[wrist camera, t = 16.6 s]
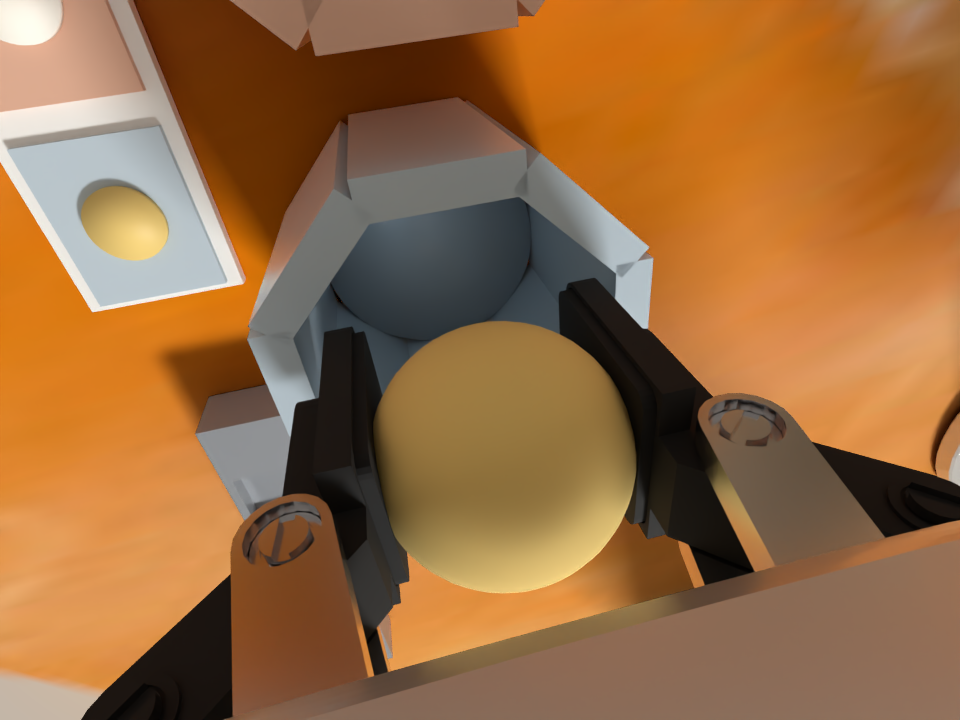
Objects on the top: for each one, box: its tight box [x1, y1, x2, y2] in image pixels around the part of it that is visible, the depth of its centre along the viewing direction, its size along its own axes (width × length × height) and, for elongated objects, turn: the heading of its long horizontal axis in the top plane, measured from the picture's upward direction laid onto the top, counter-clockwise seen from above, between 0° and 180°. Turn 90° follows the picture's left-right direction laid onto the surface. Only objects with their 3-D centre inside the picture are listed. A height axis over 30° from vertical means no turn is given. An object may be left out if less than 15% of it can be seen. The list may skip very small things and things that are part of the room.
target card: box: [0, 0, 246, 312], centre depth 13 cm, size 4×10×1 cm, turn 6°
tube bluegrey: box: [247, 97, 653, 437], centre depth 14 cm, size 8×8×7 cm
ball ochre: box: [373, 321, 636, 593], centre depth 9 cm, size 4×4×4 cm
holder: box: [195, 385, 393, 659], centre depth 22 cm, size 3×16×2 cm, turn 7°
